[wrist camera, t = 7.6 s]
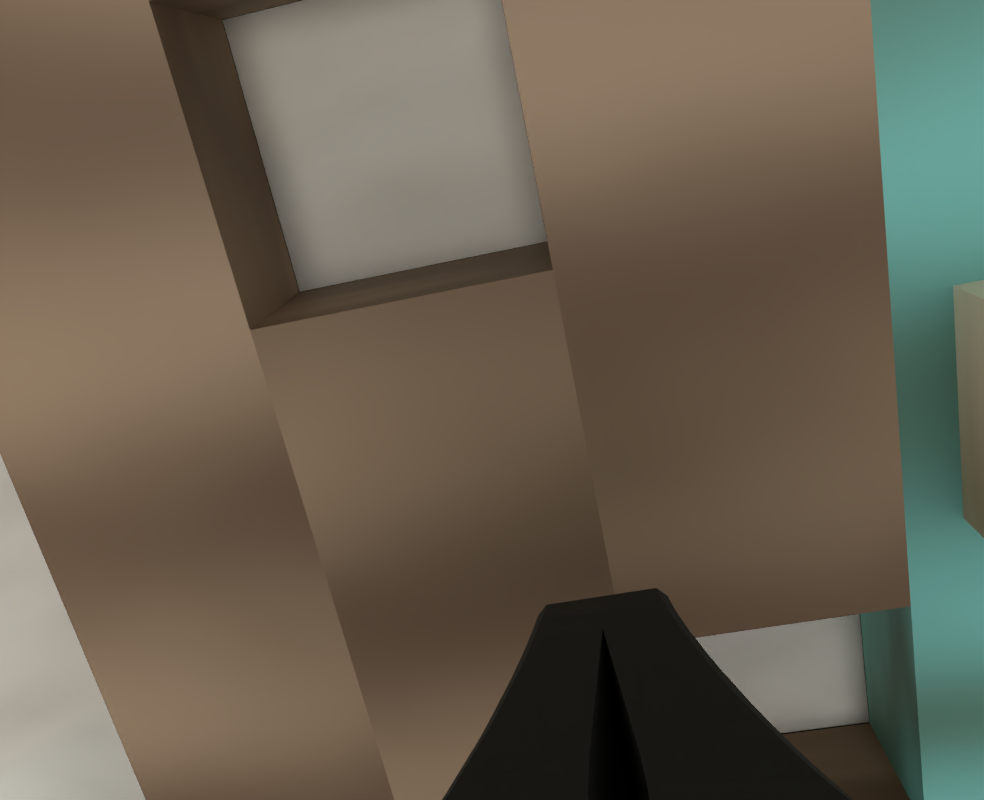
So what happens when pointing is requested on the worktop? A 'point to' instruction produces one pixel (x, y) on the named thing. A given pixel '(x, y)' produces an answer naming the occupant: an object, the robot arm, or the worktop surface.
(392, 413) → the trap deck
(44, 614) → the worktop surface
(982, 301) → the block
